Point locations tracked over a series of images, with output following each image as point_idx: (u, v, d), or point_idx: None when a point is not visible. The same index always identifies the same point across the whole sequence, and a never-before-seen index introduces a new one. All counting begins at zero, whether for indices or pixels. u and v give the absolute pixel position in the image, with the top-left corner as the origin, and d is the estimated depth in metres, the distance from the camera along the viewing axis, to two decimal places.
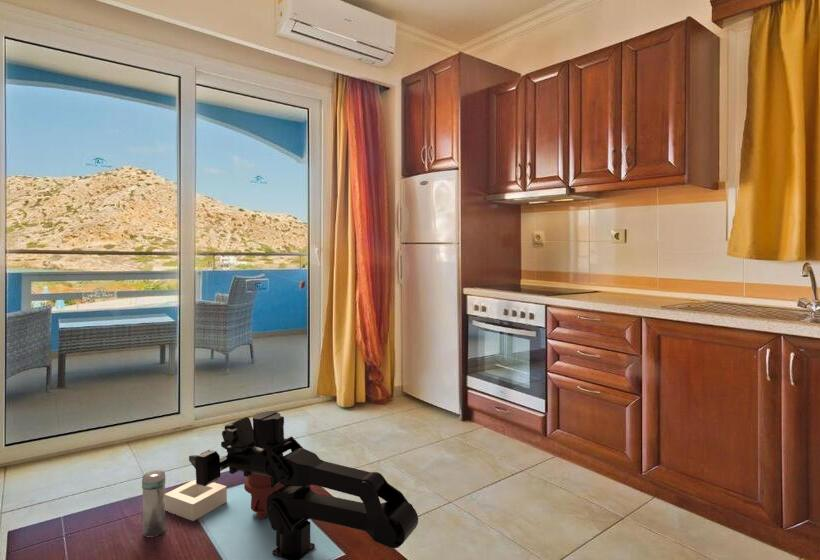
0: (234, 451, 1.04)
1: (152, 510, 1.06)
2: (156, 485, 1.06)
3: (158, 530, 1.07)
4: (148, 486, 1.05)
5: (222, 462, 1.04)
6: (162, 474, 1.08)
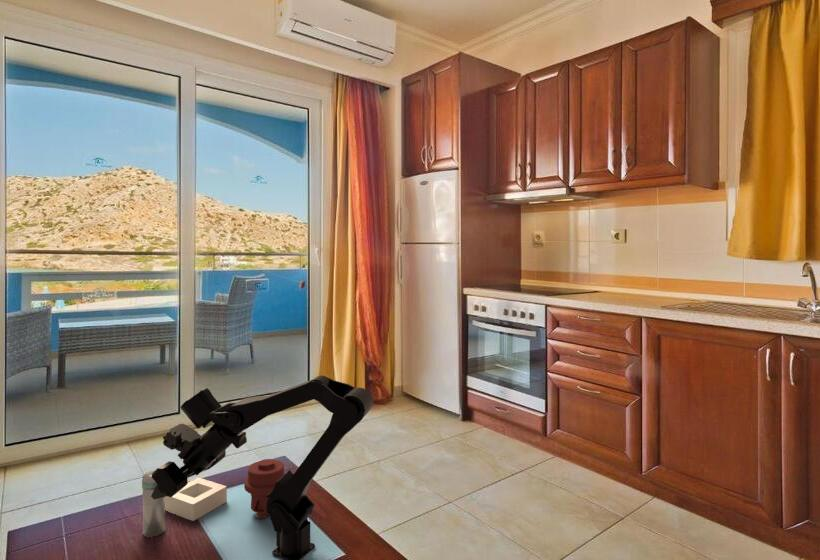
0: (186, 451, 1.03)
1: (152, 510, 1.06)
2: None
3: (158, 530, 1.07)
4: (148, 486, 1.05)
5: (182, 468, 1.01)
6: None
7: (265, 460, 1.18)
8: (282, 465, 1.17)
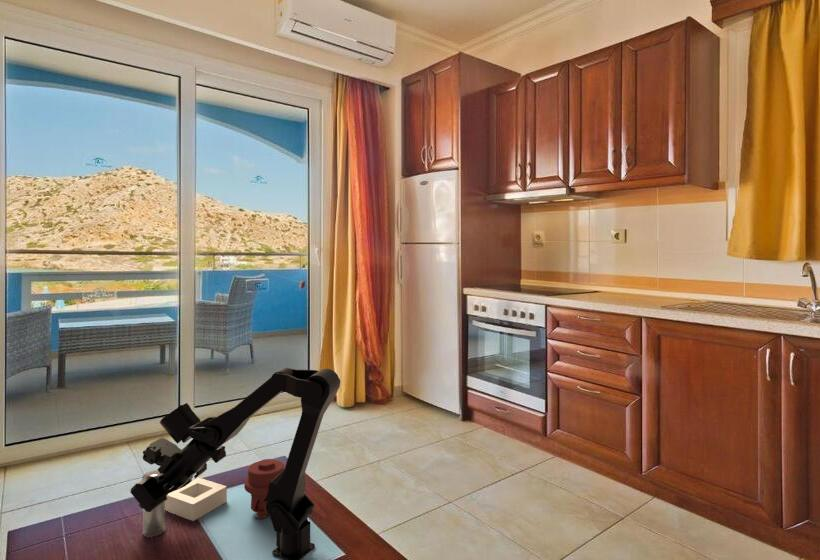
0: (165, 465, 1.04)
1: None
2: None
3: (158, 530, 1.07)
4: None
5: (161, 482, 1.02)
6: (162, 474, 1.08)
7: (265, 460, 1.18)
8: (282, 465, 1.17)
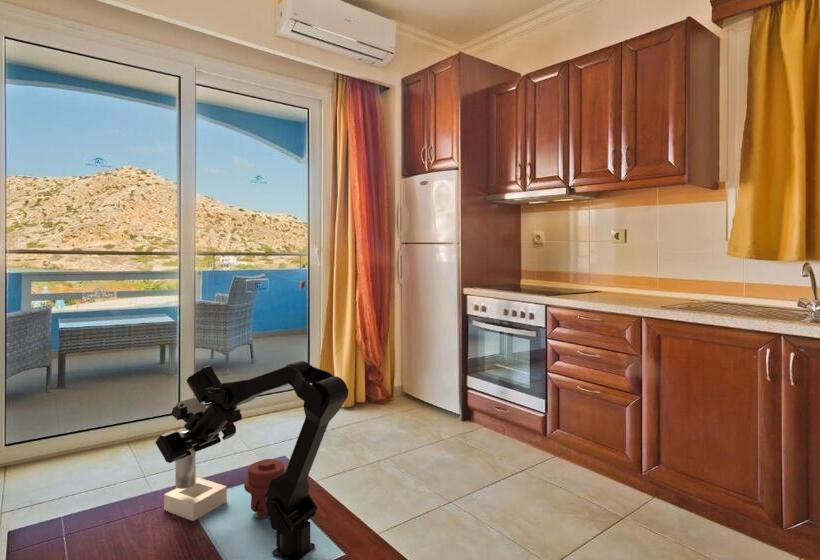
0: (190, 422, 1.11)
1: (181, 463, 1.14)
2: None
3: (187, 483, 1.15)
4: None
5: (185, 438, 1.10)
6: None
7: (265, 460, 1.18)
8: (282, 465, 1.17)
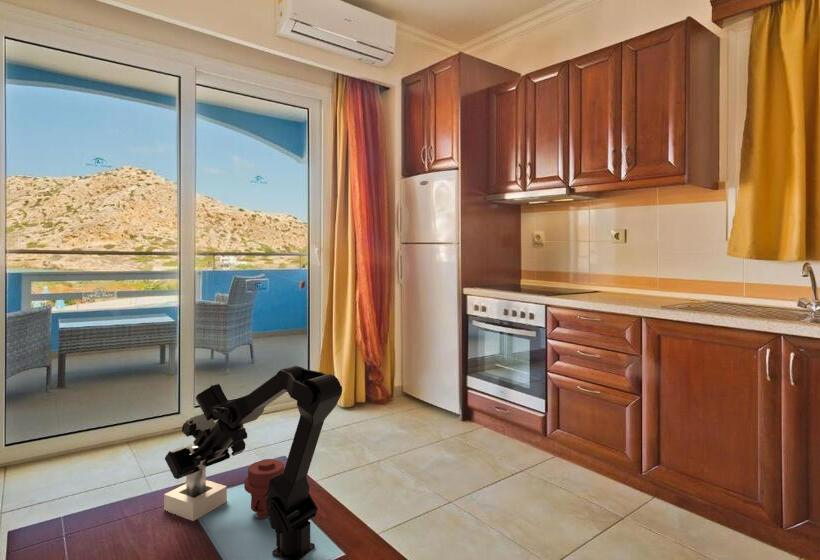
0: (198, 439, 1.13)
1: (191, 478, 1.17)
2: None
3: None
4: None
5: (193, 454, 1.12)
6: None
7: (265, 460, 1.18)
8: (282, 465, 1.17)
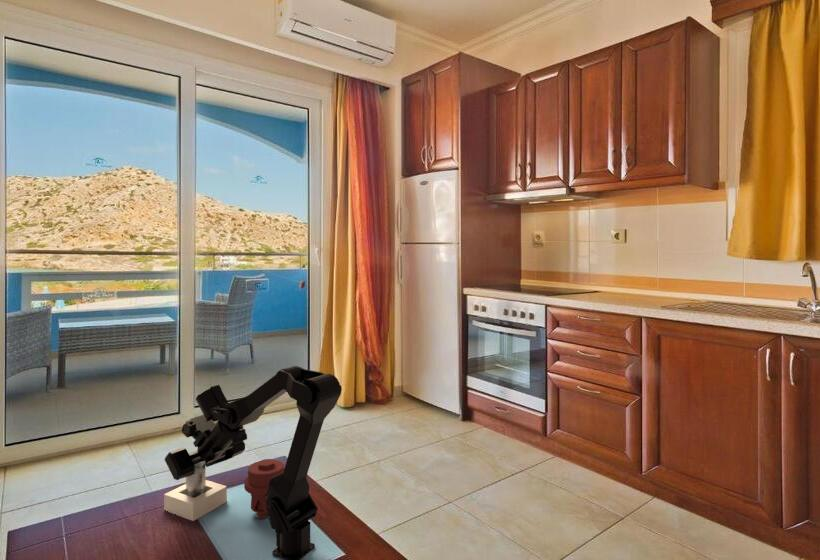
0: (198, 440, 1.13)
1: (191, 486, 1.17)
2: None
3: None
4: None
5: (193, 455, 1.12)
6: None
7: (265, 460, 1.18)
8: (282, 465, 1.17)
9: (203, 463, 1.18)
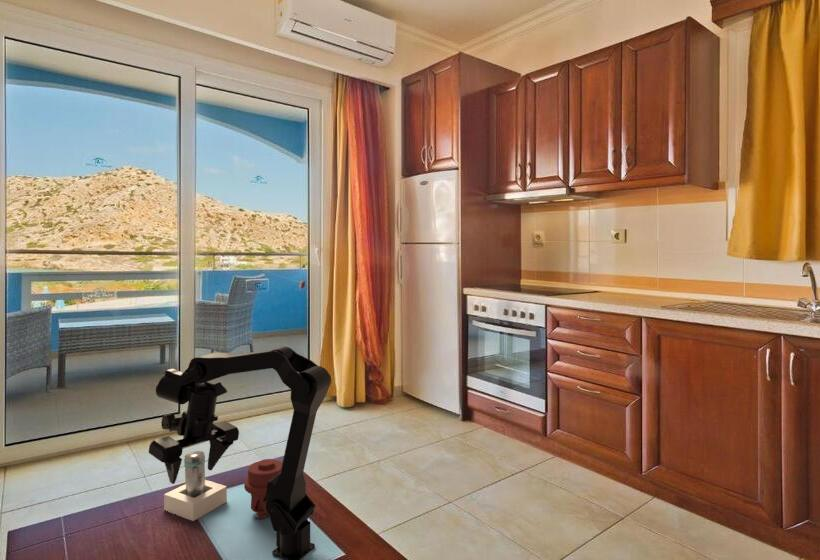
0: (180, 425, 1.06)
1: (191, 486, 1.17)
2: (194, 465, 1.16)
3: None
4: (187, 465, 1.16)
5: (179, 440, 1.04)
6: (201, 455, 1.18)
7: (265, 460, 1.18)
8: None
9: (202, 463, 1.18)
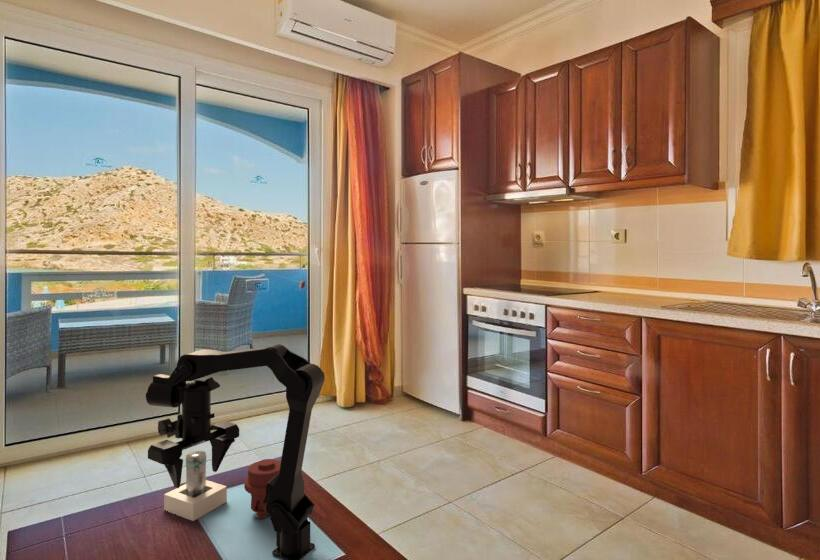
0: (177, 428, 1.04)
1: (192, 486, 1.17)
2: (195, 464, 1.17)
3: None
4: (188, 464, 1.17)
5: (177, 442, 1.02)
6: (202, 455, 1.18)
7: (265, 460, 1.18)
8: None
9: (203, 463, 1.18)
